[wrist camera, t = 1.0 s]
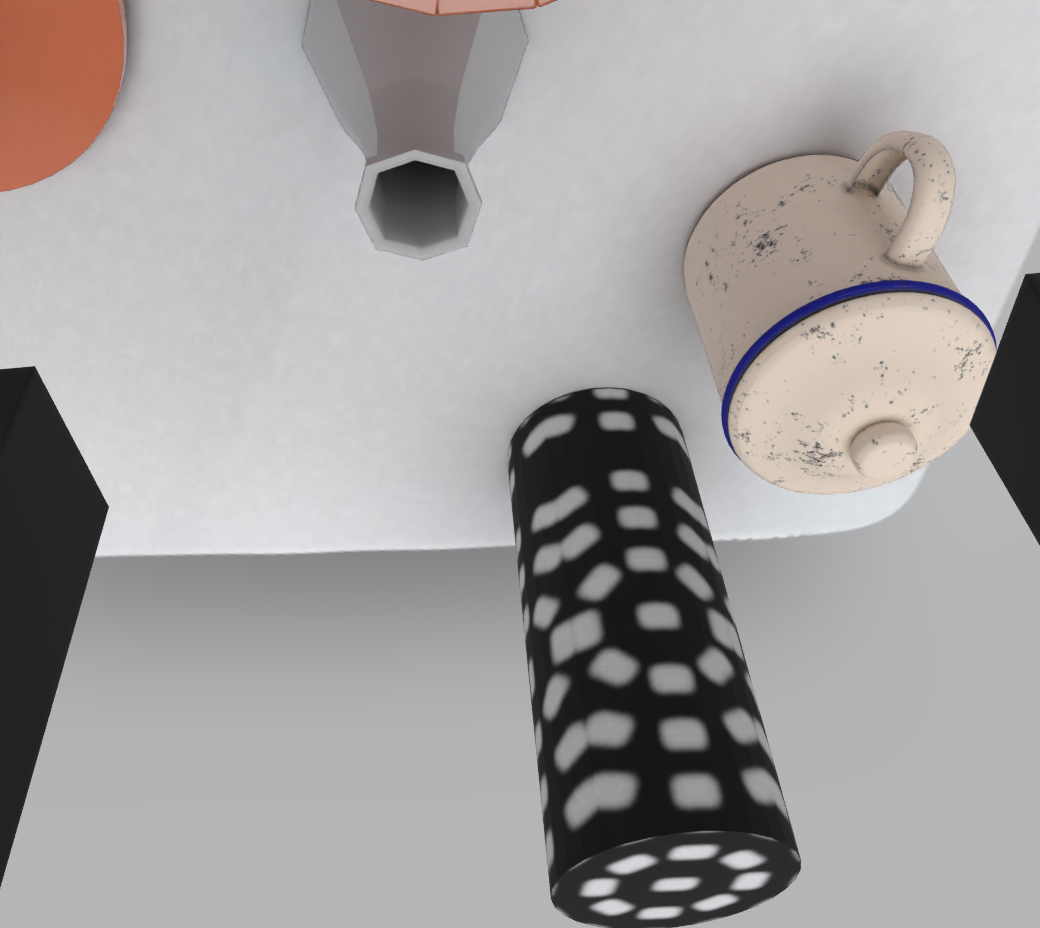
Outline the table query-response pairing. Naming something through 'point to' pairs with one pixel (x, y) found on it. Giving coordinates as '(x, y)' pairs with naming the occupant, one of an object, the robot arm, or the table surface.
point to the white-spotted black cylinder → (638, 676)
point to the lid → (56, 82)
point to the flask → (415, 111)
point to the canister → (463, 5)
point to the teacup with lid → (837, 318)
